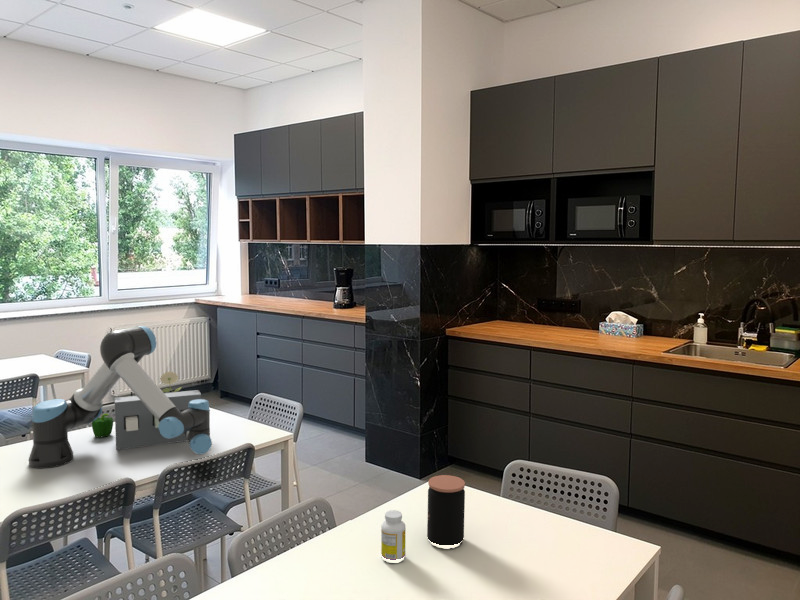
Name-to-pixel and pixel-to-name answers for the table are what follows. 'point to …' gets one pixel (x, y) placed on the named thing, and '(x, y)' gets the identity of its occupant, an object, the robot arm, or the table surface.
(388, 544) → the supplement bottle
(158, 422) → the sage key
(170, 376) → the flower in vase
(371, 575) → the table surface
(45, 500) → the table surface
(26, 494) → the table surface
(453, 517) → the coffee jar
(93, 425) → the bell pepper
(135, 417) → the cream key
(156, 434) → the keypad panel
